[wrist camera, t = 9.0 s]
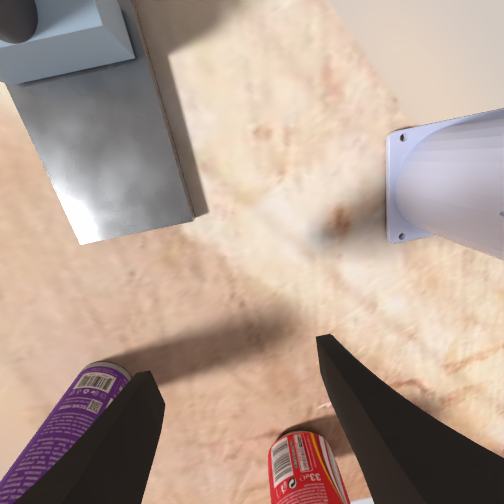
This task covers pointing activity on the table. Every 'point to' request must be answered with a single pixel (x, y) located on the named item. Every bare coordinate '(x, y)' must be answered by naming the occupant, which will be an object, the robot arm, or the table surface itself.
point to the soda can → (304, 471)
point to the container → (64, 426)
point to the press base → (107, 144)
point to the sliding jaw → (59, 37)
